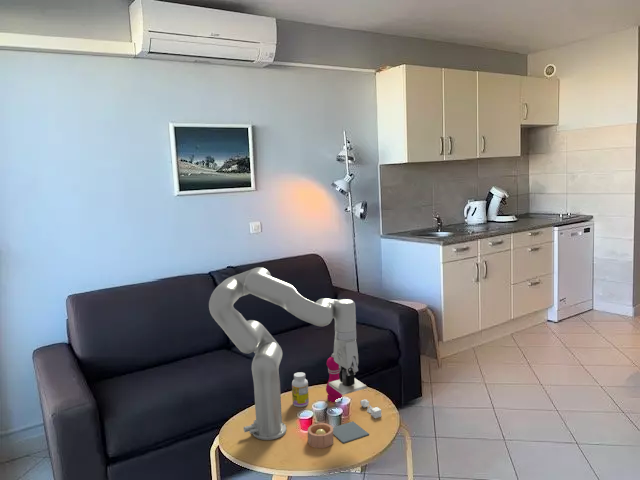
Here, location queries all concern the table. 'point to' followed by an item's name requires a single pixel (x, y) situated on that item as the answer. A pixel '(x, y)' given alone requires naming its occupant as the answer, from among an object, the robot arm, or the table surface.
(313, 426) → the bowl
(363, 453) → the table surface
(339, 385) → the lid
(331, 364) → the pepper mill
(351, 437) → the mat
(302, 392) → the supplement bottle
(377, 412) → the game pieces
